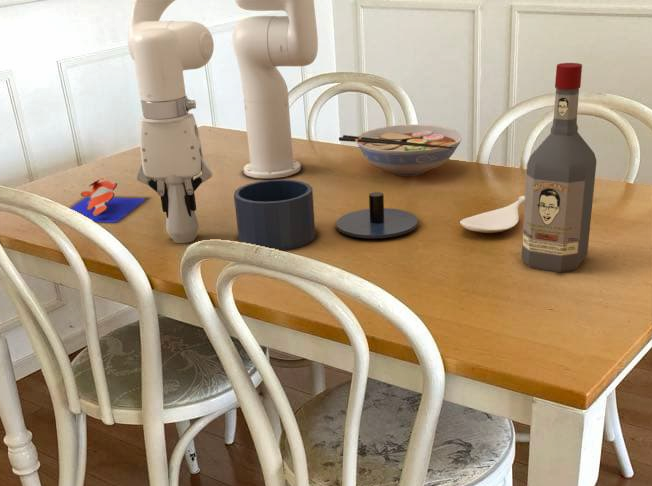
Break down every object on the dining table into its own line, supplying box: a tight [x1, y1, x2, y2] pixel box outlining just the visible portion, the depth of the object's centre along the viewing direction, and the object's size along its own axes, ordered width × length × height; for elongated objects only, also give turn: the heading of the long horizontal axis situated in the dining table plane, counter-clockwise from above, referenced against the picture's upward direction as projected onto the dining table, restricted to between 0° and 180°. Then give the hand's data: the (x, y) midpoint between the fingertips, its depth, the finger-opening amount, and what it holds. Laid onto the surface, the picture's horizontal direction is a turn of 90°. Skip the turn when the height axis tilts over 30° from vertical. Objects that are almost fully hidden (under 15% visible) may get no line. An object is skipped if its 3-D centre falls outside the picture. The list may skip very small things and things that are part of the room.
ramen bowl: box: [338, 124, 464, 177], centre depth 187 cm, size 25×23×8 cm
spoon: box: [459, 195, 525, 234], centre depth 161 cm, size 9×32×4 cm, turn 135°
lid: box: [335, 191, 419, 239], centre depth 158 cm, size 15×15×6 cm
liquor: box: [521, 62, 598, 273], centre depth 134 cm, size 9×9×30 cm
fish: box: [80, 177, 118, 217], centre depth 174 cm, size 13×5×9 cm
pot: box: [233, 179, 316, 251], centre depth 155 cm, size 14×14×8 cm
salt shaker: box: [164, 175, 200, 244], centre depth 155 cm, size 6×6×13 cm
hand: (180, 214), depth 156 cm, fingers closed on salt shaker, 3 cm apart
